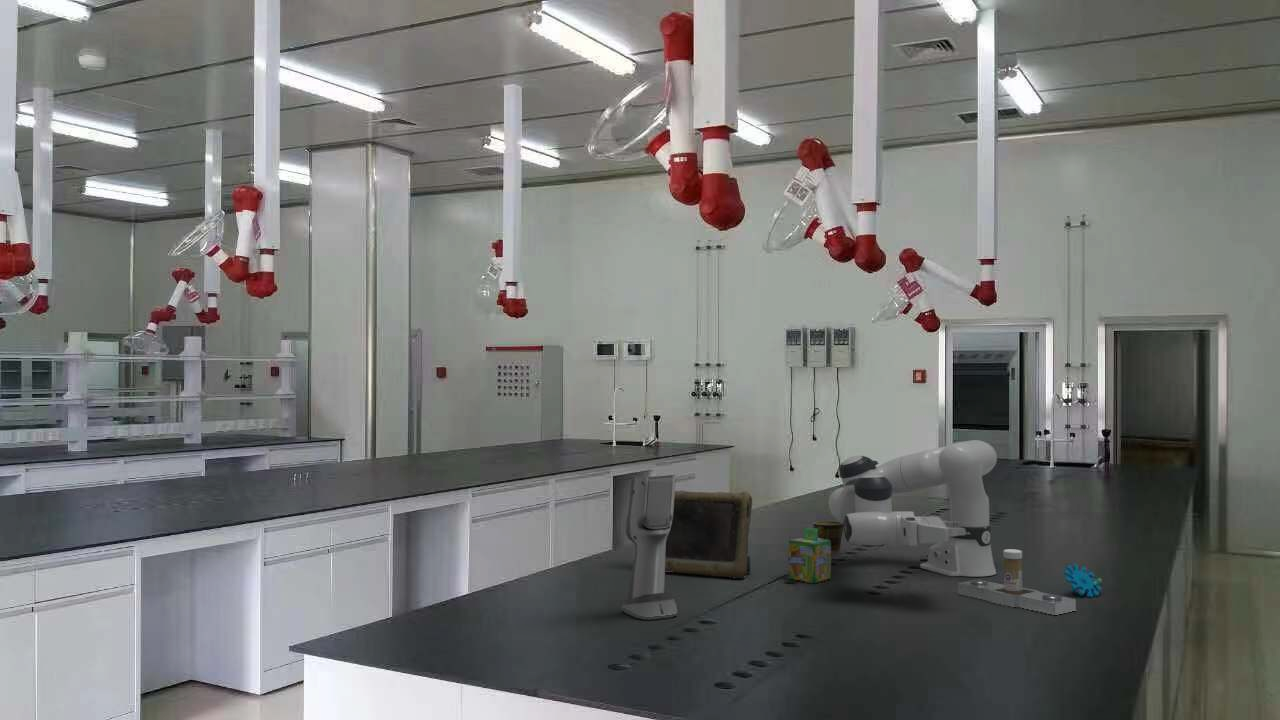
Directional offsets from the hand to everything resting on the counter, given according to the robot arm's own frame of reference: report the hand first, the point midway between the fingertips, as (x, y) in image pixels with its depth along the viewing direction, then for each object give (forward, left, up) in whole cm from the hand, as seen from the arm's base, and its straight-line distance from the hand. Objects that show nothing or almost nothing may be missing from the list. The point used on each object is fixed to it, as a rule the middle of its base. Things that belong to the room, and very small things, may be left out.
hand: (962, 528), depth 252 cm
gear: (+12, +33, -19) cm, 40 cm away
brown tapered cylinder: (-74, +20, -19) cm, 79 cm away
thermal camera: (-37, -73, -19) cm, 84 cm away
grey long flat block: (+7, +10, -19) cm, 23 cm away
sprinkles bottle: (+7, +10, -19) cm, 23 cm away
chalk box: (-45, -13, -19) cm, 50 cm away
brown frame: (-71, -33, -19) cm, 81 cm away
